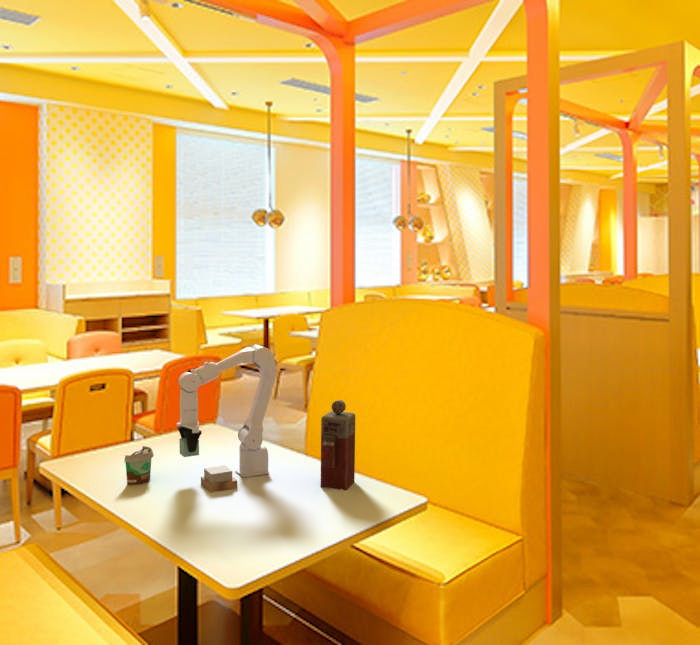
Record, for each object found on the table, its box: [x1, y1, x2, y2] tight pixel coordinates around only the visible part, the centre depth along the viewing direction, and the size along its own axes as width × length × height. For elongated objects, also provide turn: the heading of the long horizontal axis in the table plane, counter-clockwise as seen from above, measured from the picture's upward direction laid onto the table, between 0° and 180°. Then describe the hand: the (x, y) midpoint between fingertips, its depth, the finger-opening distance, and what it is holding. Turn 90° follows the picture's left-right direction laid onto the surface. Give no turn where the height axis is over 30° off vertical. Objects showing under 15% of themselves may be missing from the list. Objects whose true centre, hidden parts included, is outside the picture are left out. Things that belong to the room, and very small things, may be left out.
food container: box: [123, 445, 155, 486], centre depth 223 cm, size 12×6×10 cm, turn 168°
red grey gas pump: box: [320, 399, 356, 491], centre depth 220 cm, size 9×11×28 cm
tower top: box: [203, 464, 233, 484], centre depth 219 cm, size 7×7×3 cm
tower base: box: [200, 476, 238, 494], centre depth 219 cm, size 9×9×3 cm
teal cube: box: [179, 437, 200, 458], centre depth 224 cm, size 5×5×5 cm
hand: (189, 449), depth 224 cm, fingers closed on teal cube, 5 cm apart
